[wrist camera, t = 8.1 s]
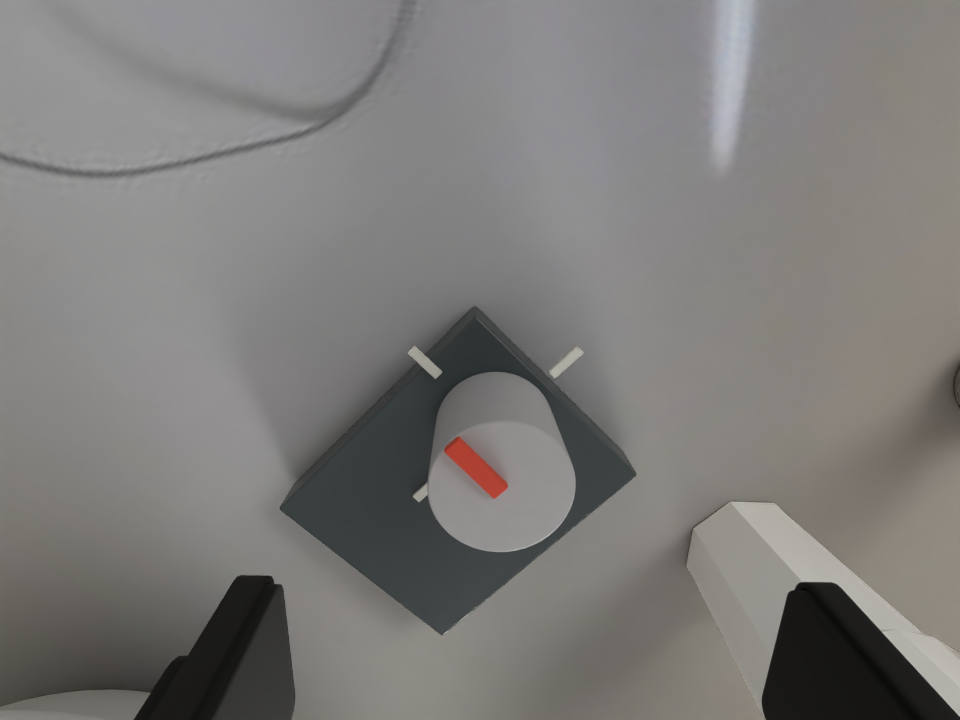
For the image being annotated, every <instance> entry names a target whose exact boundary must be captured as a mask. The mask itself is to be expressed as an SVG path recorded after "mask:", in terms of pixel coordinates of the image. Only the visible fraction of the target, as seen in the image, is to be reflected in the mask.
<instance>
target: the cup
mask: <svg viewBox="0 0 960 720" xmlns="http://www.w3.org/2000/svg"><path fill="white" fill-rule="evenodd" d="M686 567H687V569H688V570H689V572H690V574H691V576H692V577H693V579H694V581H695V583H696V585H697V587H698V589H699V591H700V593H701V595H702V597H703V599H704V601H705V603H706V605H707V606H708V608H709V610H710V612H711V614H712V616H713V618H714V620H715V622H716V624H717V626H718V628H719V630H720V632H721V634H722V636H723V638H724V640H725V642H726V644H727V646H728V648H729V650H730V652H731V654H732V656H733V658H734V660H735V662H736V664H737V666H738V668H739V670H740V672H741V674H742V676H743V678H744V680H745V682H746V684H747V686H748V688H749V690H750V692H751V694H752V696H753V698H754V700H755V702H756V704H757V706H758V708H759V710H760V712H761V714H762V716H763V718H764V720H766V719H765V716H764V713H763V709H762V694H763V690H764V686H765V682H766V678H767V674H768V670H769V666H770V662H771V658H772V654H773V650H774V646H775V642H776V638H777V634H778V630H779V626H780V622H781V618H782V614H783V610H784V606H785V602H786V598H787V595H788V593H789V592H790V591H791V590H795V587H796V585H797V584H798V583H800V582H832V583H835V584H837V585H838V586H840V587H841V588H842V589H843V590H844V591H845V592H846V594H847V595H848V596H849V597H850V598H851V599H852V600H853V601H854V602H855V603H856V604H857V606H858V607H859V608H860V609H861V610H862V611H863V612H864V613H865V614H866V615H867V616H868V618H869V619H870V620H871V621H872V622H873V623H874V624H875V625H876V626H877V627H878V628H879V629H880V631H881V632H882V633H883V634H884V635H885V636H886V637H887V638H888V639H889V640H890V641H891V643H892V644H893V645H894V646H895V647H896V648H897V649H898V650H899V651H900V652H901V653H902V655H903V656H904V657H905V658H906V659H907V660H908V661H909V662H910V663H911V664H912V665H913V667H914V668H915V669H916V670H917V671H918V672H919V673H920V674H921V675H922V676H923V677H924V678H925V680H926V681H927V682H928V683H929V684H930V685H931V686H932V687H933V688H934V689H935V690H936V692H937V693H938V694H939V695H940V696H941V697H942V698H943V699H944V700H945V701H946V702H947V704H948V705H949V706H950V707H951V708H952V709H953V710H954V711H955V712H956V713H957V714H958V715H959V717H960V654H959V653H958V652H956V651H955V650H953V649H952V648H950V647H948V646H947V645H945V644H944V643H942V642H941V641H939V640H937V639H936V638H934V637H931V636H929V635H927V634H924V633H922V632H921V631H919V630H918V629H917V628H916V627H915V626H914V625H913V624H911V623H910V622H909V621H908V620H907V619H906V618H905V617H903V616H902V615H901V614H900V613H899V612H898V611H897V610H895V609H894V608H893V607H892V606H891V605H890V604H889V603H887V602H886V601H885V600H884V599H883V598H882V597H880V596H879V595H878V594H877V593H876V592H875V591H874V590H872V589H871V588H870V587H869V586H868V585H867V584H866V583H864V582H863V581H862V580H861V579H860V578H859V577H858V576H856V575H855V574H854V573H853V572H852V571H851V570H850V569H848V568H847V567H846V566H845V565H844V564H843V563H841V562H840V561H839V560H838V559H837V558H836V557H835V556H833V555H832V554H831V553H830V552H829V551H828V550H827V549H825V548H824V547H823V546H822V545H821V544H820V543H819V542H817V541H816V540H815V539H814V538H813V537H812V536H811V535H809V534H808V533H807V532H806V531H805V530H804V529H802V528H801V527H800V526H799V525H798V524H797V523H796V522H794V521H793V520H792V519H791V518H790V517H789V516H788V515H786V514H785V513H784V512H783V511H782V510H781V509H780V508H779V507H778V506H777V505H776V504H775V503H765V502H729V503H727V504H726V505H725V506H723V507H722V508H721V509H719V510H718V511H716V512H715V513H714V514H712V515H711V516H710V517H708V518H707V519H706V520H704V521H703V522H701V523H700V524H699V525H697V526H696V527H695V528H693V532H692V537H691V542H690V548H689V553H688V559H687V564H686Z"/></svg>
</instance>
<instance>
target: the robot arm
mask: <svg viewBox="0 0 960 720" xmlns="http://www.w3.org/2000/svg"><path fill="white" fill-rule="evenodd" d="M294 704H295V688H294V679H293V670H292V661H291V653H290V644H289V635H288V626H287V617H286V609H285V600H284V591H283V587H282V585H280V584H274V580H273V578H272V576H246V575H240V576H238V577H236V579H235V580H234V581H233V583H232V584H231V586H230V588H229V589H228V591H227V593H226V594H225V596H224V598H223V599H222V601H221V602H220V604H219V606H218V607H217V609H216V611H215V612H214V614H213V615H212V617H211V619H210V620H209V622H208V624H207V625H206V627H205V629H204V630H203V632H202V633H201V635H200V637H199V638H198V640H197V642H196V643H195V645H194V646H193V648H192V650H191V651H190V653H189V655H188V656H179V657H177V658H176V659H174V660H173V661H172V662H171V663H170V665H169V666H168V667H167V669H166V670H165V671H164V673H163V675H162V676H161V678H160V679H159V681H158V682H157V684H156V685H155V687H154V689H153V690H152V692H151V693H150V695H149V696H148V698H147V699H146V701H145V703H144V704H143V706H142V707H141V709H140V710H139V712H138V713H137V715H136V717H135V718H134V720H291V718H292V715H293V710H294ZM762 709H763V713H764V716H765V719H766V720H960V717H959V715H958V714H957V713H956V712H955V711H954V710H953V709H952V708H951V707H950V706H949V705H948V704H947V702H946V701H945V700H944V699H943V698H942V697H941V696H940V695H939V694H938V693H937V692H936V690H935V689H934V688H933V687H932V686H931V685H930V684H929V683H928V682H927V681H926V680H925V678H924V677H923V676H922V675H921V674H920V673H919V672H918V671H917V670H916V669H915V668H914V667H913V665H912V664H911V663H910V662H909V661H908V660H907V659H906V658H905V657H904V656H903V655H902V653H901V652H900V651H899V650H898V649H897V648H896V647H895V646H894V645H893V644H892V643H891V641H890V640H889V639H888V638H887V637H886V636H885V635H884V634H883V633H882V632H881V631H880V629H879V628H878V627H877V626H876V625H875V624H874V623H873V622H872V621H871V620H870V619H869V618H868V616H867V615H866V614H865V613H864V612H863V611H862V610H861V609H860V608H859V607H858V606H857V604H856V603H855V602H854V601H853V600H852V599H851V598H850V597H849V596H848V595H847V594H846V592H845V591H844V590H843V589H842V588H841V587H840V586H838V585H837V584H835V583H832V582H800V583H798V584H797V585H796V587H795V590H791V591H790V592H789V593H788V595H787V598H786V602H785V606H784V610H783V614H782V618H781V622H780V626H779V630H778V634H777V638H776V642H775V646H774V650H773V654H772V658H771V662H770V666H769V670H768V674H767V678H766V682H765V686H764V690H763V694H762Z"/></svg>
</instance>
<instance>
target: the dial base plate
mask: <svg viewBox="0 0 960 720" xmlns="http://www.w3.org/2000/svg"><path fill="white" fill-rule="evenodd" d="M408 354H409V355H410V356H411V357H412V358H413V359H414V360H415V361H416V362H417V363H416V364H415V365H414V366H413V367H412V368H411V369H410V370H409V371H408V372H407V373H406V374H405V375H404V376H403V377H402V378H401V379H400V380H399V381H398V382H397V383H396V384H395V385H394V386H393V387H392V388H391V389H390V390H389V391H388V392H387V393H386V394H385V395H384V396H383V397H382V398H381V399H380V400H379V401H378V402H377V403H375V404H374V405H373V406H372V407H371V408H370V409H369V410H368V411H367V412H366V413H365V414H364V415H363V416H362V417H361V418H360V419H359V420H358V421H357V422H356V423H355V424H354V425H353V426H352V427H351V428H350V429H349V430H348V431H347V432H346V433H345V434H344V435H343V436H342V437H341V438H340V439H339V440H338V441H337V442H336V443H335V444H334V445H333V446H332V447H331V448H330V449H329V450H328V451H327V452H326V453H325V454H324V455H323V456H322V457H321V458H320V459H319V460H318V461H316V462H315V463H314V464H313V465H312V466H311V467H310V468H309V469H308V470H307V471H306V472H305V473H304V474H303V475H302V476H301V477H300V478H299V479H298V480H297V481H296V482H295V483H294V485H293V486H292V488H291V490H290V491H289V493H288V495H287V496H286V498H285V500H284V501H283V503H282V504H281V506H280V510H281V511H282V512H283V513H285V514H286V515H287V516H289V517H290V518H291V519H292V520H294V521H295V522H296V523H298V524H299V525H300V526H301V527H303V528H304V529H305V530H307V531H308V532H309V533H310V534H312V535H313V536H314V537H316V538H317V539H318V540H320V541H321V542H322V543H323V544H325V545H326V546H327V547H329V548H330V549H331V550H332V551H334V552H335V553H336V554H338V555H339V556H340V557H341V558H343V559H344V560H345V561H347V562H348V563H349V564H350V565H352V566H353V567H354V568H356V569H357V570H358V571H359V572H361V573H362V574H363V575H365V576H366V577H367V578H368V579H370V580H371V581H372V582H374V583H375V584H376V585H377V586H379V587H380V588H381V589H383V590H384V591H385V592H386V593H388V594H389V595H390V596H392V597H393V598H394V599H395V600H397V601H398V602H399V603H401V604H402V605H403V606H404V607H406V608H407V609H408V610H410V611H411V612H412V613H413V614H415V615H416V616H417V617H419V618H420V619H421V620H422V621H424V622H425V623H426V624H428V625H429V626H430V627H431V628H433V629H434V630H435V631H437V632H438V633H439V634H441V635H444V634H445V633H447V632H448V631H449V630H450V629H451V628H453V627H454V626H455V625H456V624H457V623H459V622H460V621H461V620H462V619H463V618H465V617H466V616H467V615H468V614H470V613H471V612H472V611H473V610H474V609H476V608H477V607H478V606H479V605H480V604H482V603H483V602H484V601H485V600H486V599H488V598H489V597H490V596H491V595H492V594H494V593H495V592H496V591H497V590H499V589H500V588H501V587H502V586H503V585H505V584H506V583H507V582H508V581H509V580H511V579H512V578H513V577H514V576H515V575H517V574H518V573H519V572H520V571H522V570H523V569H524V568H525V567H526V566H528V565H529V564H530V563H531V562H532V561H534V560H535V559H536V558H537V557H538V556H540V555H541V554H542V553H543V552H544V551H546V550H547V549H548V548H549V547H551V546H552V545H553V544H554V543H555V542H557V541H558V540H559V539H560V538H561V537H563V536H564V535H565V534H566V533H567V532H569V531H570V530H571V529H572V528H573V527H575V526H576V525H577V524H578V523H580V522H581V521H582V520H583V519H584V518H586V517H587V516H588V515H589V514H590V513H592V512H593V511H594V510H595V509H596V508H598V507H599V506H600V505H601V504H603V503H604V502H605V501H606V500H607V499H609V498H610V497H611V496H612V495H613V494H615V493H616V492H617V491H618V490H619V489H621V488H622V487H623V486H624V485H625V484H627V483H628V482H629V481H630V480H632V479H633V478H634V477H635V476H636V472H635V470H634V469H633V467H632V465H631V464H630V462H629V460H628V459H627V457H626V455H625V454H624V452H623V451H622V450H621V449H620V448H619V447H618V446H617V445H616V444H615V443H614V442H613V441H612V440H611V439H610V438H609V437H608V436H607V435H606V434H605V433H604V432H603V431H602V430H601V429H600V428H599V427H598V426H597V425H596V424H595V423H594V422H593V421H592V420H591V419H590V418H589V417H588V416H587V415H586V414H585V413H584V412H583V411H582V410H581V409H580V408H579V407H578V406H577V405H576V404H575V403H574V402H573V401H572V400H571V399H570V398H569V397H568V396H567V395H566V394H565V393H564V392H563V391H562V390H561V389H559V388H558V387H557V386H556V385H555V384H554V383H553V382H552V381H551V380H550V379H549V378H548V377H547V376H546V375H545V374H544V373H543V372H542V371H541V370H540V369H539V368H538V367H537V366H536V365H535V364H534V363H533V362H532V361H531V360H530V359H529V358H528V357H527V356H526V355H525V354H524V353H523V352H522V351H521V350H520V349H519V348H518V347H517V346H516V345H515V344H514V343H513V342H512V341H511V340H510V339H509V338H508V337H507V336H506V335H505V334H504V333H503V332H502V331H501V330H500V329H499V328H498V327H497V326H496V325H495V324H494V323H493V322H492V321H491V320H490V319H489V318H488V317H487V316H486V315H485V314H484V313H483V312H482V311H481V310H480V309H479V308H478V307H476V306H475V307H473V308H472V309H471V310H470V311H469V312H468V313H467V314H466V315H465V316H464V317H463V318H462V319H461V320H460V321H459V322H458V323H457V324H456V325H455V326H454V327H453V328H452V329H451V330H450V331H449V332H448V333H447V334H446V335H445V336H444V337H443V338H442V339H441V340H440V341H439V342H438V343H437V344H435V345H434V346H433V347H432V348H431V349H430V350H429V351H428V352H427V353H426V354H425V355H424V354H423V353H422V352H421V351H420V350H419V349H418V348H417V347H416V346H415V345H414V346H413V347H412V348H411V349H410V350H409V351H408ZM582 354H583V351H582V350H581V349H580V348H579V347H578V346H577V345H576V346H575V347H574V348H573V349H572V350H571V351H569V352H568V353H567V354H566V355H565V356H564V357H563V358H562V359H561V360H560V361H559V362H557V363H556V364H555V365H554V366H553V367H552V368H551V369H550V370H549V371H548V372H549V373H550V374H551V375H552V376H553V377H554V378H557V377H558V376H559V375H560V374H561V373H562V372H563V371H564V370H565V369H566V368H568V367H569V366H570V365H571V364H572V363H573V362H574V361H575V360H576V359H577V358H579V357H580V356H581V355H582ZM486 372H506V373H510V374H514V375H517V376H520V377H522V378H524V379H526V380H527V381H529V382H530V383H532V384H533V385H534V386H535V387H537V388H538V389H539V390H540V392H541V393H542V394H543V395H544V397H545V398H546V400H547V402H548V404H549V406H550V408H551V411H552V414H553V416H554V419H555V421H556V424H557V426H558V429H559V432H560V434H561V437H562V439H563V442H564V444H565V447H566V450H567V452H568V455H569V457H570V460H571V462H572V465H573V469H574V472H575V480H576V487H575V495H574V500H573V503H572V506H571V508H570V510H569V512H568V514H567V516H566V518H565V519H564V521H563V522H562V523H561V525H560V526H559V527H558V528H557V529H556V530H555V531H554V532H553V533H552V534H550V535H549V536H548V537H546V538H545V539H543V540H542V541H540V542H538V543H536V544H534V545H532V546H529V547H527V548H523V549H520V550H515V551H509V552H491V551H485V550H480V549H476V548H473V547H470V546H468V545H466V544H464V543H462V542H460V541H458V540H457V539H455V538H454V537H453V536H451V535H450V534H449V533H448V532H447V531H446V530H445V529H444V528H443V527H442V526H441V524H440V523H439V522H438V520H437V519H436V517H435V515H434V514H433V512H432V509H431V506H430V504H429V499H428V492H427V482H428V474H429V467H430V460H431V453H432V446H433V439H434V432H435V426H436V419H437V414H438V411H439V408H440V406H441V404H442V402H443V400H444V398H445V397H446V396H447V394H448V393H449V392H450V391H451V390H452V389H453V388H454V387H455V386H456V385H458V384H459V383H460V382H462V381H464V380H465V379H467V378H469V377H472V376H474V375H477V374H481V373H486Z"/></svg>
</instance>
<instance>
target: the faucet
mask: <svg viewBox="0 0 960 720" xmlns="http://www.w3.org/2000/svg"><path fill="white" fill-rule="evenodd" d="M954 388H955V396H956V400H957V402H958V404H959V406H960V368H959V370H958V372H957V375H956V379H955V387H954Z"/></svg>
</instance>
